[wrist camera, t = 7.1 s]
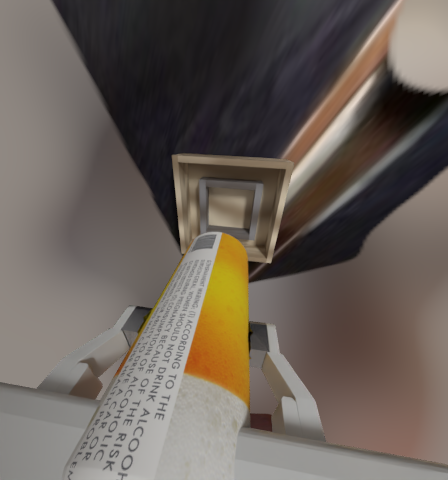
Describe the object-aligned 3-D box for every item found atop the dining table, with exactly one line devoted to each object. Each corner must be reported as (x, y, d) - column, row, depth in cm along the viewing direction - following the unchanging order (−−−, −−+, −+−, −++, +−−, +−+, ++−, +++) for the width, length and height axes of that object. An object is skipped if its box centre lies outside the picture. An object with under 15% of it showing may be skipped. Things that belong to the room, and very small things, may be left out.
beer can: (205, 282, 20) (123, 552, 7) (179, 238, 17) (-36, 535, 4) (255, 269, 18) (280, 601, 5) (235, 219, 15) (172, 624, 2)
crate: (183, 153, 27) (171, 155, 23) (286, 159, 26) (294, 162, 21) (189, 239, 35) (181, 253, 31) (267, 247, 34) (270, 263, 29)
